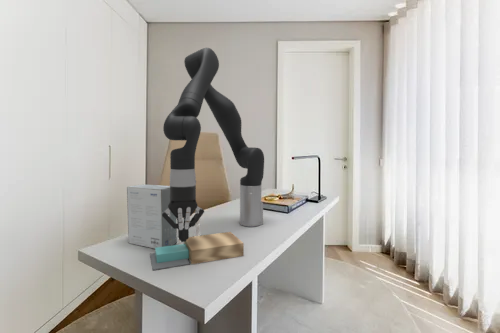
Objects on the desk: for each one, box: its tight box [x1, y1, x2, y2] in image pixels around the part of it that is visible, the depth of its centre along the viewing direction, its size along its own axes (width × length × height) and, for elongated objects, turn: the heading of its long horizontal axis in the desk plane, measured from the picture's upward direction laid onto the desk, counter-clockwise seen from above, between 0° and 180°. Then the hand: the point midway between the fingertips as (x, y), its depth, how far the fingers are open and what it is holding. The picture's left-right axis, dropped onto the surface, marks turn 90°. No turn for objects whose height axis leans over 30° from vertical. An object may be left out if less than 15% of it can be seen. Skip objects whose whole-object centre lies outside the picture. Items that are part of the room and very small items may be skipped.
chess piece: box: [194, 218, 201, 236], centre depth 97 cm, size 5×5×10 cm
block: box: [154, 243, 189, 263], centre depth 82 cm, size 9×6×2 cm, turn 114°
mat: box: [149, 252, 191, 271], centre depth 81 cm, size 10×12×1 cm
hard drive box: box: [126, 183, 178, 250], centre depth 94 cm, size 16×8×20 cm, turn 66°
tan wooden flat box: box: [183, 231, 245, 265], centre depth 87 cm, size 16×12×4 cm
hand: (183, 240), depth 83 cm, fingers closed
